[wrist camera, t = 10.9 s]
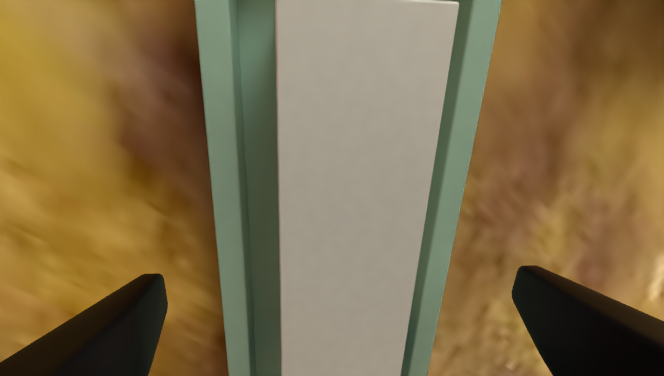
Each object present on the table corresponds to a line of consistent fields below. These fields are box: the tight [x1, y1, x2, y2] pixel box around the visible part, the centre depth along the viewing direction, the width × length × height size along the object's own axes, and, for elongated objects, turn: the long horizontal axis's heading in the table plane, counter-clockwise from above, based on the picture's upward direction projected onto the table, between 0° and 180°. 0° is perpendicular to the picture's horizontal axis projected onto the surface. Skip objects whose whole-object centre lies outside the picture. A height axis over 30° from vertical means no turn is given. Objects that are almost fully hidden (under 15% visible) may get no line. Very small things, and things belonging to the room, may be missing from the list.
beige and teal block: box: [275, 0, 459, 376], centre depth 11 cm, size 13×4×4 cm, turn 178°
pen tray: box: [194, 0, 502, 376], centre depth 12 cm, size 18×8×2 cm, turn 177°
